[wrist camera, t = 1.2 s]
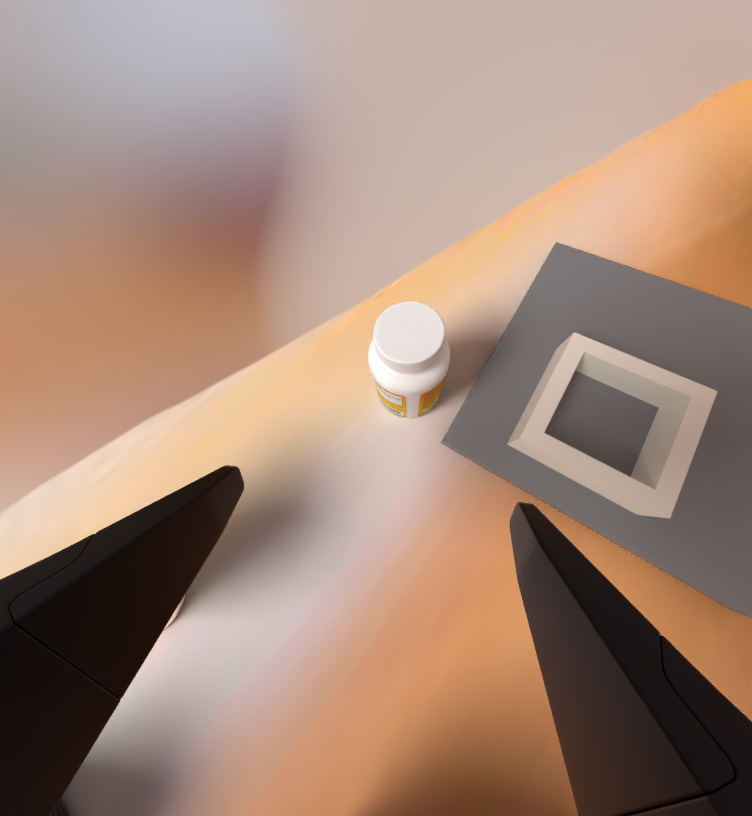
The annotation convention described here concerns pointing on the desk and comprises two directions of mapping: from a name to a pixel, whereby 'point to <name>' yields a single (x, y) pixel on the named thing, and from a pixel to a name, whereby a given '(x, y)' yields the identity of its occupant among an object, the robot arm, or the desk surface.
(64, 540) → the desk surface
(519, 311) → the awning socket
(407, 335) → the supplement bottle
